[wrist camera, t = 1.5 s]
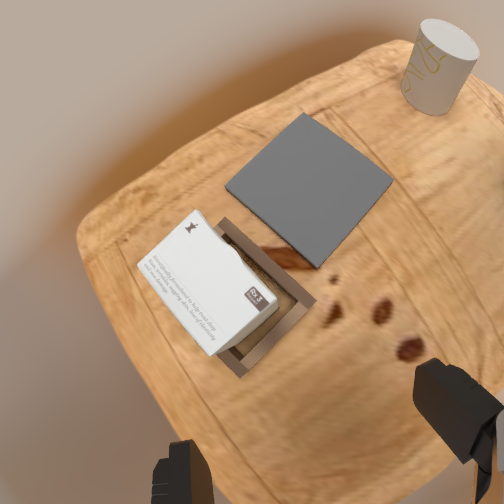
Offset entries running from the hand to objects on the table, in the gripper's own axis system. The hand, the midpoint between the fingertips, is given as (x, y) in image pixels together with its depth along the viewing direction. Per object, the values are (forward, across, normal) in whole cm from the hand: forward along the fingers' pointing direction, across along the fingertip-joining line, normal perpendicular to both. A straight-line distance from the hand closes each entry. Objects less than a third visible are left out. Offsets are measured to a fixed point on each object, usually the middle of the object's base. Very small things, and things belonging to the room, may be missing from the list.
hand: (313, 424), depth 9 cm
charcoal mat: (+28, -10, -4) cm, 30 cm away
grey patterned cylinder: (+30, -32, -14) cm, 46 cm away
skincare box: (+24, +1, +6) cm, 25 cm away
